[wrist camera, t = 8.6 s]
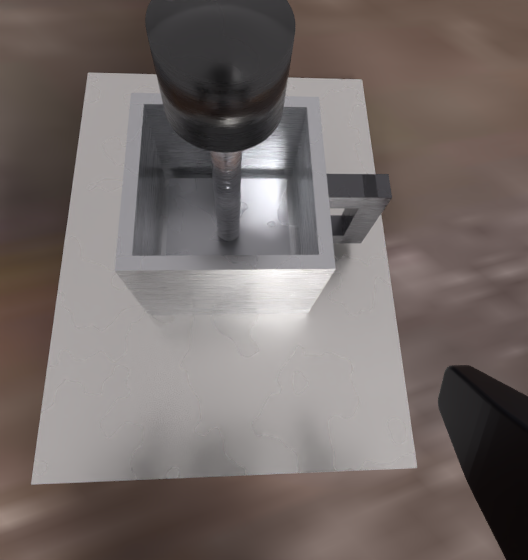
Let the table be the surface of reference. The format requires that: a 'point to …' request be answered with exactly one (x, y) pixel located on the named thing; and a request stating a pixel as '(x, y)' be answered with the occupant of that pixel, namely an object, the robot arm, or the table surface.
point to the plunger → (224, 118)
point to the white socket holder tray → (223, 306)
